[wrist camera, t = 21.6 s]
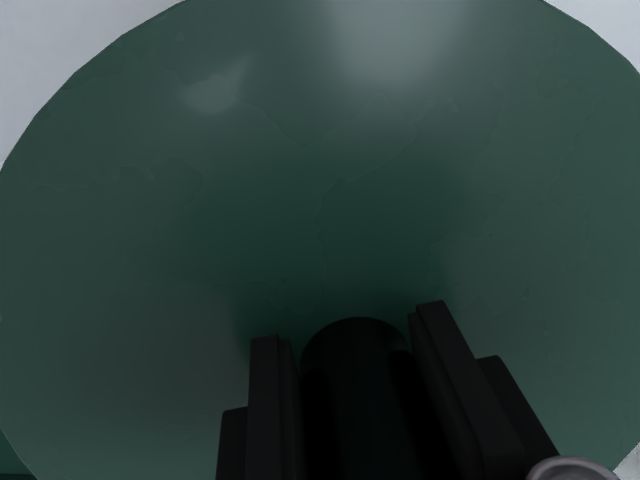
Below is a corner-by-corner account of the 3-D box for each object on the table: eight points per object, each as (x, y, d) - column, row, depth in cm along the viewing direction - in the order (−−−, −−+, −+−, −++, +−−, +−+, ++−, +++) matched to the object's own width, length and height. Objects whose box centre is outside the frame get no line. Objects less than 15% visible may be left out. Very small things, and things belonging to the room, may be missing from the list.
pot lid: (-87, 453, 13) (-373, 841, 7) (168, -248, 8) (-89, -834, 2) (432, 602, 18) (518, 925, 12) (812, 199, 13) (1313, 405, 7)
